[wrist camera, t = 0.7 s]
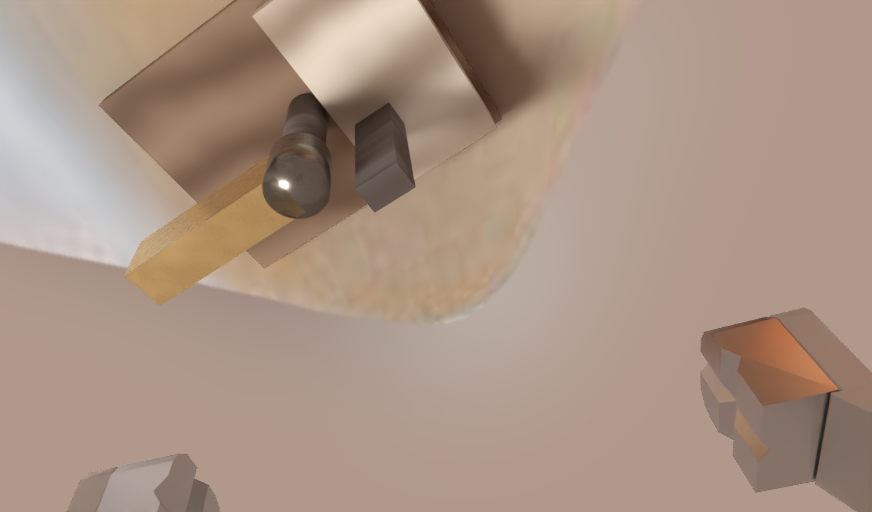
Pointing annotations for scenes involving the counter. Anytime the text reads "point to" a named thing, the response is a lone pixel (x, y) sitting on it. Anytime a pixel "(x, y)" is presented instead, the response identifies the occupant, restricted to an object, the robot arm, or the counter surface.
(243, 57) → the lock plate
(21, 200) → the counter surface
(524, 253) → the counter surface
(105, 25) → the counter surface
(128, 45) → the counter surface
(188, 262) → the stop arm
